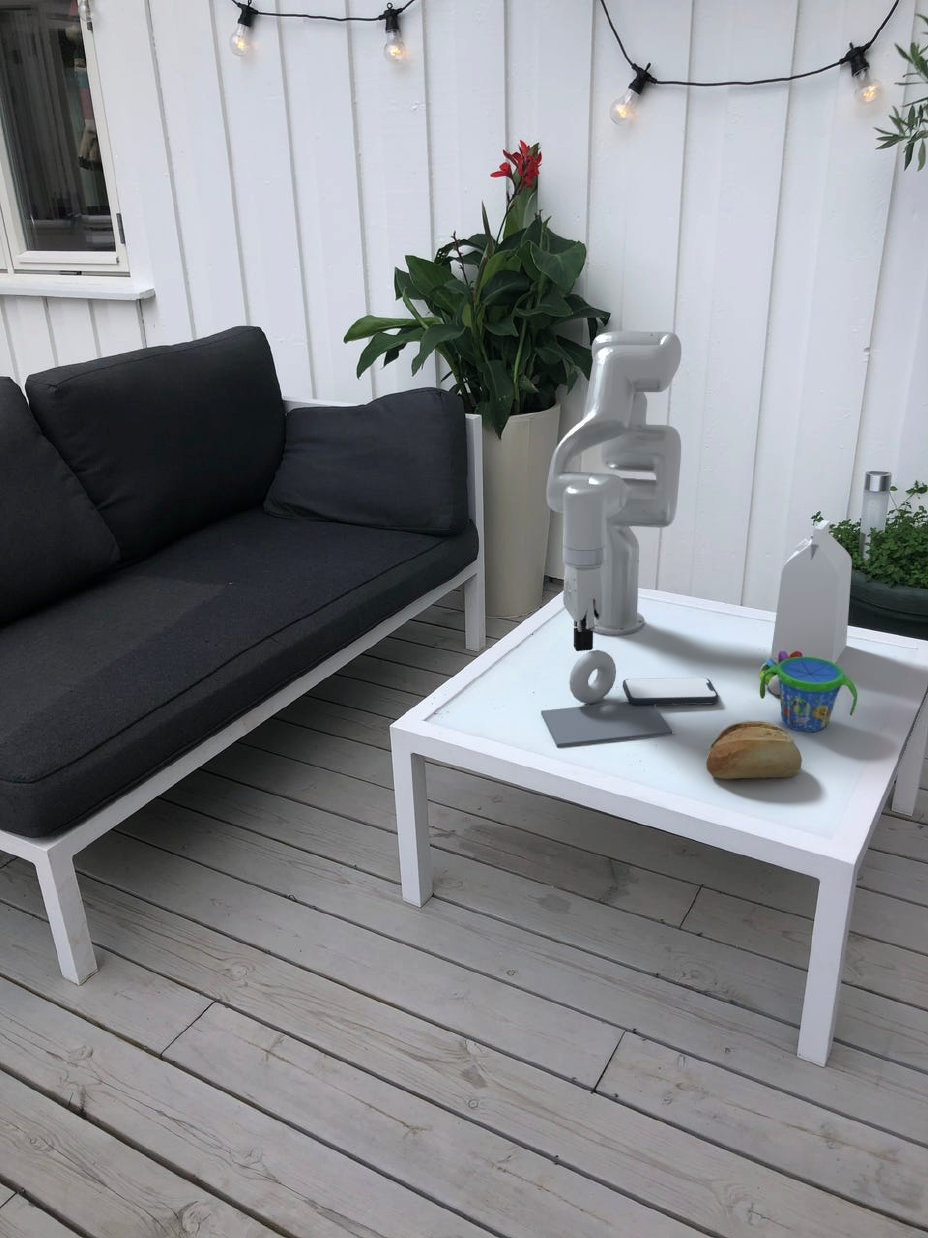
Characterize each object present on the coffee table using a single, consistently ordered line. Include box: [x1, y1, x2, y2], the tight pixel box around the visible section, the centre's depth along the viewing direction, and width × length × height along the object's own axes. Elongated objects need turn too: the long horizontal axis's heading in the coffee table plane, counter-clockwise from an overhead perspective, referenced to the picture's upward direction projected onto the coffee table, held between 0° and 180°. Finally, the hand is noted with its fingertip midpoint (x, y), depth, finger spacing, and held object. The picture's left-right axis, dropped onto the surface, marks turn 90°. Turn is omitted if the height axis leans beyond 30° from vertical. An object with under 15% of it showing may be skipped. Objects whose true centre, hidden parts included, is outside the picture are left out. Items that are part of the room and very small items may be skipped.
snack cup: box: [759, 657, 858, 733], centre depth 170 cm, size 16×10×10 cm
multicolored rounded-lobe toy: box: [759, 651, 802, 696], centre depth 183 cm, size 8×10×7 cm
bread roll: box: [705, 720, 803, 780], centre depth 156 cm, size 10×15×8 cm, turn 97°
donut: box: [568, 649, 617, 705], centre depth 180 cm, size 10×4×10 cm, turn 125°
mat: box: [540, 701, 674, 748], centre depth 174 cm, size 12×20×1 cm, turn 99°
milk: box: [770, 519, 853, 664], centre depth 193 cm, size 12×12×26 cm
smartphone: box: [622, 677, 719, 706], centre depth 182 cm, size 9×2×16 cm
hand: (583, 648), depth 185 cm, fingers closed
